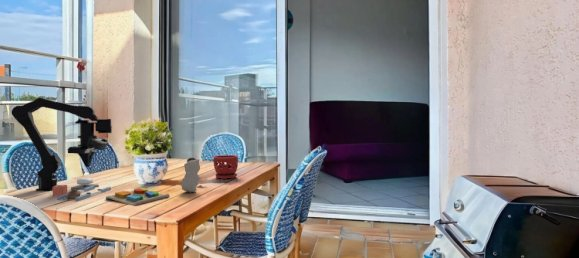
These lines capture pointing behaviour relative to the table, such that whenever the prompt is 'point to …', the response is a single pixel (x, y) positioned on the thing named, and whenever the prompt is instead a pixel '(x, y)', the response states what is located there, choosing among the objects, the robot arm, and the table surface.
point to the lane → (86, 194)
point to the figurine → (191, 175)
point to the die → (59, 190)
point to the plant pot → (226, 166)
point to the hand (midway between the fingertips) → (87, 167)
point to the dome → (85, 181)
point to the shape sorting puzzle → (137, 196)
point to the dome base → (84, 186)
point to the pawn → (73, 194)
